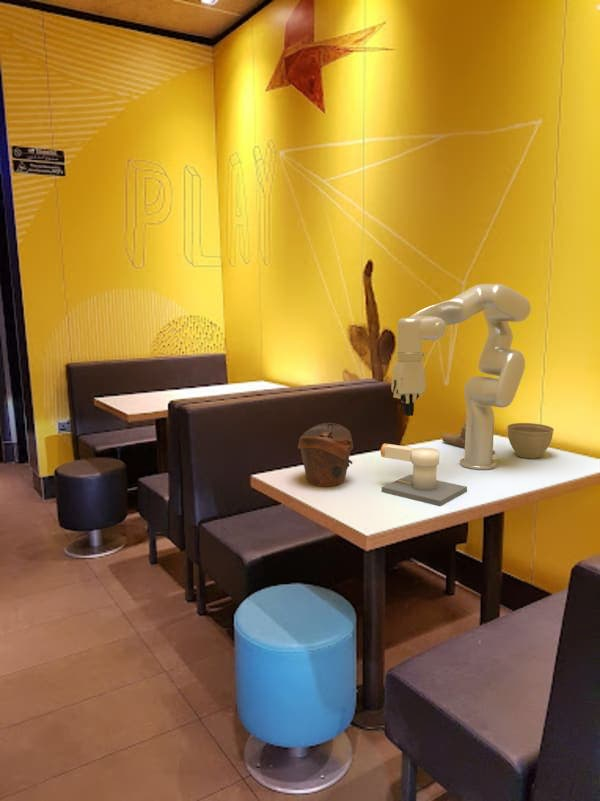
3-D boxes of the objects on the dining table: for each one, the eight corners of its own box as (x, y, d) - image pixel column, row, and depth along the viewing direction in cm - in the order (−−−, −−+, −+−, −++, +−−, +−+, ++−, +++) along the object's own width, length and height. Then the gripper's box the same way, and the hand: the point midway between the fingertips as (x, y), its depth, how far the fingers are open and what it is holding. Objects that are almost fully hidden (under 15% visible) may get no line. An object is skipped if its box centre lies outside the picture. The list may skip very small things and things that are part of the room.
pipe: (448, 441, 247) (449, 417, 245) (480, 449, 233) (481, 424, 231) (437, 443, 243) (438, 419, 242) (469, 451, 229) (470, 426, 228)
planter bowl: (497, 455, 224) (499, 427, 222) (519, 448, 235) (520, 421, 233) (539, 464, 212) (540, 434, 210) (559, 455, 223) (561, 427, 221)
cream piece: (443, 462, 183) (443, 448, 182) (432, 469, 176) (433, 454, 175) (389, 454, 193) (389, 440, 192) (377, 459, 186) (377, 446, 186)
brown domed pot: (312, 493, 182) (312, 436, 179) (289, 476, 200) (289, 424, 198) (364, 487, 189) (365, 431, 186) (336, 470, 207) (337, 420, 204)
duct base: (410, 478, 196) (410, 452, 195) (466, 491, 183) (468, 463, 182) (381, 491, 184) (381, 463, 182) (440, 506, 171) (441, 475, 169)
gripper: (422, 355, 192) (421, 411, 195) (382, 358, 186) (382, 415, 190) (436, 357, 185) (435, 415, 189) (395, 360, 180) (394, 419, 183)
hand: (408, 415), depth 189 cm, fingers closed
